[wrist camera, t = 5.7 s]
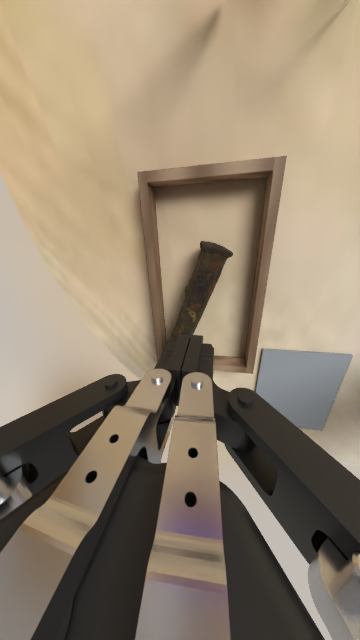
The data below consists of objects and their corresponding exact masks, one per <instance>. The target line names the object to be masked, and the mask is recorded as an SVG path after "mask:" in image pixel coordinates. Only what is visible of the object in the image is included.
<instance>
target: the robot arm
mask: <svg viewBox="0 0 360 640" xmlns="http://www.w3.org/2000/svg"><path fill="white" fill-rule="evenodd" d="M213 361H214V348H213V347H212V345H211V344H203V336H198V335H179V337H178V339H177V342H170V343H168V344H167V345H166V346H165V348H164V350H163V352H162V354H161V356H160V358H159V361H158V363H157V365H156V367H155V369H153V370H151V371H149V372H147V373H146V374H145V375H144V377H143V378H142V380H138V381H132V382H126V378H125V377H124V376H122V375H120V374H113V375H109V376H106V377H104V378H102V379H100V380H98V381H96V382H94V383H91V384H89V385H87V386H85V387H83V388H81V389H79V390H77V391H75V392H73V393H70V394H69V395H66V396H64V397H62V398H60V399H58V400H56V401H54V402H52V403H50V404H47V405H45V406H43V407H41V408H39V409H37V410H35V411H33V412H31V413H29V414H27V415H25V416H22V417H20V418H19V419H16V420H14V421H12V422H10V423H8V424H6V425H4V426H2V427H0V640H325V639H324V638H323V636H322V634H321V633H320V631H319V629H318V628H317V626H316V625H315V623H314V621H313V619H312V618H311V616H310V614H309V613H308V611H307V610H306V608H305V606H304V604H303V603H302V601H301V599H300V598H299V596H298V594H297V593H296V591H295V590H294V588H293V586H292V584H291V583H290V581H289V579H288V578H287V576H286V574H285V573H284V571H283V569H282V568H281V566H280V564H279V563H278V561H277V559H276V558H275V556H274V554H273V553H272V551H271V549H270V547H269V546H268V544H267V543H266V541H265V539H264V537H263V536H262V534H261V532H260V531H259V529H258V527H257V526H256V524H255V522H254V521H253V519H252V517H251V516H250V514H249V512H248V511H247V509H246V508H245V506H244V505H243V504H242V502H241V501H240V500H239V498H238V497H237V496H236V495H235V494H234V493H233V491H232V490H231V489H229V488H228V487H227V486H226V485H225V484H223V483H222V482H220V481H219V470H218V454H217V440H219V441H221V442H223V443H224V444H225V447H226V449H227V451H228V452H229V453H230V455H231V456H232V458H233V459H234V461H235V462H236V463H237V464H238V466H239V467H240V469H241V470H242V472H243V473H244V474H245V476H246V477H247V478H248V480H249V481H250V483H251V484H252V485H253V487H254V488H255V490H256V491H257V492H258V494H259V495H260V497H261V498H262V499H263V501H264V502H265V504H266V505H267V506H268V507H269V509H270V510H271V512H272V513H273V515H274V516H275V518H276V519H277V520H278V522H279V523H280V524H281V526H282V527H283V528H284V530H285V531H286V533H287V534H288V536H289V537H290V538H291V540H292V541H293V543H294V544H295V545H296V547H297V548H298V550H299V551H300V552H301V554H302V555H303V556H304V558H305V559H306V561H307V562H308V563H309V570H308V582H309V587H310V592H311V595H312V598H313V601H314V604H315V606H316V608H317V610H318V613H319V614H320V616H321V618H322V620H323V622H324V623H325V625H326V627H327V629H328V631H329V633H330V635H331V637H332V639H333V640H360V480H359V479H358V478H356V477H355V476H354V475H353V474H352V473H351V472H349V471H348V470H347V469H346V468H345V467H344V466H342V465H341V464H340V463H339V462H338V461H336V460H335V459H334V458H333V457H332V456H331V455H329V454H328V453H327V452H326V451H325V450H323V449H322V448H321V447H320V446H319V445H318V444H316V443H315V442H314V441H313V440H312V439H310V438H309V437H308V436H307V435H306V434H305V433H303V432H302V431H301V430H300V429H299V428H297V427H296V426H295V425H294V424H293V423H291V422H290V421H289V420H288V419H287V418H286V417H284V416H283V415H282V414H281V413H280V412H278V411H277V410H276V409H275V408H274V407H273V406H271V405H270V404H269V403H268V402H267V401H265V400H264V399H263V398H262V397H261V396H260V395H258V394H257V393H256V392H254V391H252V390H250V389H247V388H236V389H234V390H232V391H231V392H228V391H225V390H223V389H221V388H219V387H218V386H217V385H216V384H215V383H214V381H213ZM176 406H179V407H178V413H177V416H175V418H174V413H175V409H176ZM101 411H102V413H103V416H102V417H100V418H98V419H96V420H95V421H93V422H91V423H90V424H88V425H86V426H85V427H83V428H81V429H80V430H78V431H76V432H72V433H71V432H70V431H71V429H72V428H74V427H75V426H76V425H78V424H80V423H82V422H83V421H85V420H87V419H89V418H90V417H92V416H94V415H95V414H97V413H99V412H101ZM173 421H174V423H173ZM172 424H173V429H172V435H171V442H170V447H169V454H168V461H167V463H161V458H162V454H163V451H164V448H165V445H166V442H167V439H168V436H169V433H170V430H171V427H172Z"/></svg>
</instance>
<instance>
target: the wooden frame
mask: <svg viewBox="0 0 360 640" xmlns="http://www.w3.org/2000/svg"><path fill="white" fill-rule="evenodd" d="M286 157H287V156H281V157H272V158H263V159H254V160H244V161H235V162H226V163H217V164H208V165H199V166H189V167H180V168H171V169H162V170H153V171H143V172H137V173H138V183H139V192H140V201H141V211H142V220H143V229H144V239H145V248H146V257H147V267H148V276H149V286H150V295H151V304H152V314H153V323H154V332H155V342H156V351H157V361H159V358H160V356H161V354H162V352H163V350H164V348H165V346H166V332H165V320H164V307H163V294H162V282H161V269H160V256H159V244H158V231H157V218H156V206H155V193H154V187H165V186H176V185H187V184H198V183H208V182H219V181H230V180H241V179H252V178H263V177H267V185H266V193H265V201H264V208H263V216H262V224H261V232H260V240H259V248H258V256H257V264H256V272H255V280H254V287H253V295H252V303H251V311H250V319H249V327H248V335H247V343H246V351H245V358H239V357H226V356H214V361H213V370H218V371H229V372H240V373H251V374H253V370H254V363H255V357H256V350H257V344H258V337H259V331H260V324H261V318H262V312H263V305H264V299H265V292H266V286H267V279H268V273H269V266H270V260H271V254H272V247H273V241H274V234H275V228H276V221H277V215H278V208H279V202H280V196H281V189H282V183H283V176H284V170H285V163H286Z"/></svg>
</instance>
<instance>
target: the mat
mask: <svg viewBox="0 0 360 640" xmlns="http://www.w3.org/2000/svg"><path fill="white" fill-rule="evenodd" d="M352 357H353V356H352V355H351V354H339V353H324V352H308V351H293V350H277V349H263V350H262V356H261V361H260V367H259V373H258V379H257V385H256V391H255V392H256V393H257V394H258V395H260V396H261V397H262V398H263V399H264V400H265V401H267V402H268V403H269V404H270V405H271V406H273V407H274V408H275V409H276V410H277V411H278V412H280V413H281V414H282V415H283V416H284V417H286V418H287V419H288V420H289V421H290V422H291V423H293V424H294V425H295V426H296V427H297V428H305V429H312V430H320V431H322V430H323V427H324V425H325V422H326V420H327V417H328V415H329V413H330V410H331V408H332V405H333V403H334V400H335V398H336V396H337V393H338V391H339V388H340V386H341V384H342V381H343V379H344V376H345V374H346V371H347V369H348V367H349V364H350V362H351V359H352Z"/></svg>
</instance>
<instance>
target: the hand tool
mask: <svg viewBox="0 0 360 640" xmlns="http://www.w3.org/2000/svg"><path fill="white" fill-rule="evenodd" d="M200 248H201V252H200V256H199V262H198V264H197V266H196V269H195V271H194V273H193V275H192V278H191V279H190V281H189V284H188V286H187V287H186V290H185V292H186V296H185V301H184V303H183V306H182V309H181V311H180V314H179V317H178V320H177V323H176V326H175V329H174V331H173V333H172V337H171V340H170V342H177V339H178V337H179V335H193V333H194V331H195V329H196V327H197V325H198V323H199V321H200V319H201V316H202V314H203V312H204V310H205V308H206V305H207V303H208V300H209V298H210V296H211V294H212V292H213V290H214V287H215V285H216V283H217V281H218V279H219V277H220V274H221V271H222V268H223V266H224V264H225V261H226V260H227V258H229V257H231V256H232V255H233V253H232V252H231V251H230V250H228V249H226V248H225V247H223V246H220V245H218V244H216V243H212V242H205V241H201V243H200ZM170 342H169V343H170Z"/></svg>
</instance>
